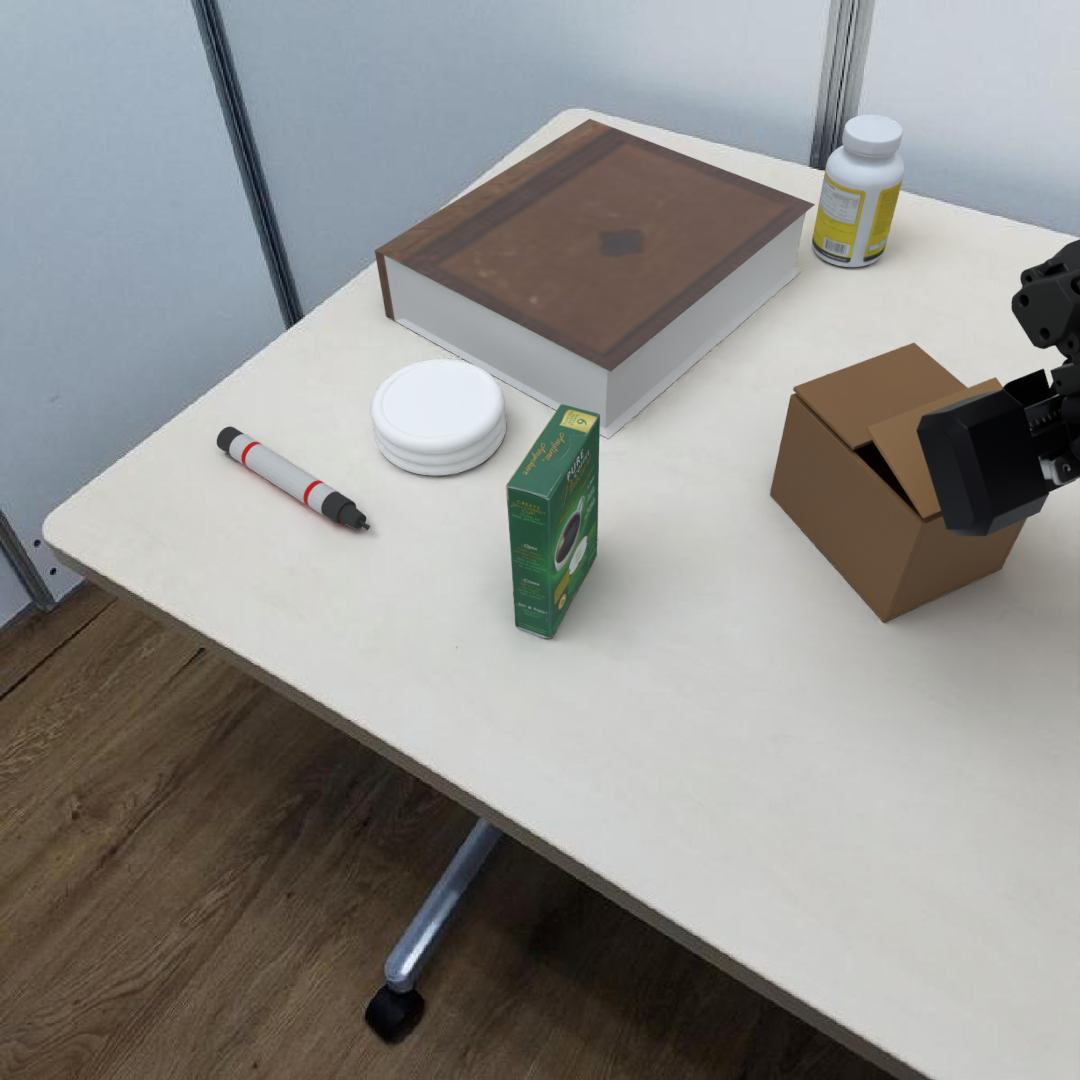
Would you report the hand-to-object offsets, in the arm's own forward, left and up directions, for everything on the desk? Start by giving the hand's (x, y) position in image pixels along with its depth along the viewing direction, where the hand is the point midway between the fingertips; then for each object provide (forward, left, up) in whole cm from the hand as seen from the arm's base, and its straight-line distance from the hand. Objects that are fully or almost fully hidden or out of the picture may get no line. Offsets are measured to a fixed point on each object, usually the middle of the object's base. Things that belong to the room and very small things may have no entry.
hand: (975, 432), depth 58 cm
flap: (0, -1, -2) cm, 2 cm away
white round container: (+36, -1, -13) cm, 38 cm away
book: (+31, -22, -13) cm, 40 cm away
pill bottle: (+12, -36, -13) cm, 40 cm away
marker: (+43, +9, -13) cm, 46 cm away
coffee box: (+22, +10, -13) cm, 27 cm away
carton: (+3, -3, -13) cm, 13 cm away
